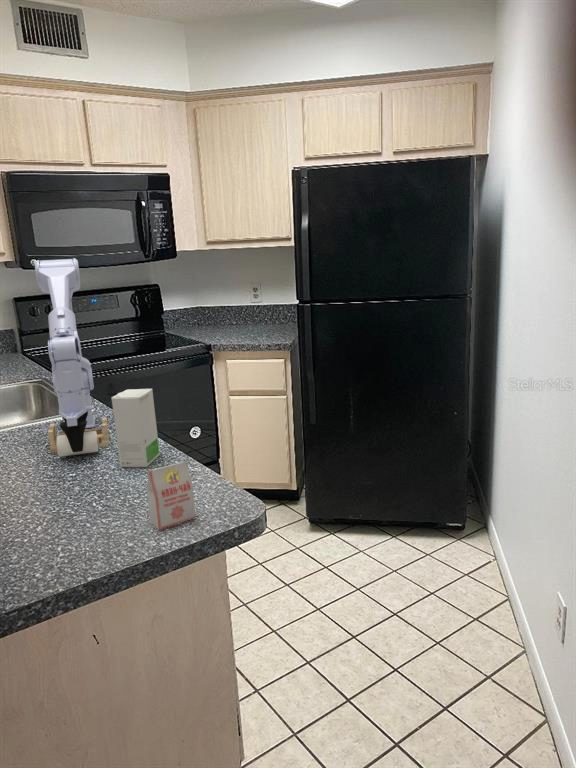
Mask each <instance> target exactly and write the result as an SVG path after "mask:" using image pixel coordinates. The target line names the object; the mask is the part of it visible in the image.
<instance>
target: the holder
mask: <svg viewBox="0 0 576 768" xmlns="http://www.w3.org/2000/svg"><path fill="white" fill-rule="evenodd" d="M107 419H108V418H107V416H105V417H101V427H100V428H92V429H91V428H90V429H85V430H84V432H90V431H96V433H97V437H98V439H99V445H98V448H102V447H109V446H110V435H109V429H108V427H109V426H108V420H107ZM47 433H48V434H47V435H48V440H49V448H50V449H49V450H50V454H56V453H57V454H58V450H57V447H56V442H57V436H58V435H65V433H64V432H61V433H60V432H59V433H58V434H57V429H56V423H55V422H54V423H50V425H49V429H48V431H47Z"/></svg>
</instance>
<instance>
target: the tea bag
mask: <svg viewBox="0 0 576 768" xmlns="http://www.w3.org/2000/svg"><path fill="white" fill-rule="evenodd" d="M147 474H148V475H147V484H146V485H147V487H146V493H147V503H148V513H149V514H148V515H149V522H150V524H151V525H153V526H154V528H155V529H157V530H158V531H161V530H164V528H165V529H167V527H168V528H170V526H171V527H174V526H176V524H177V525H179V524H178V523H180V524H182V523H181V522H183V523H186V522H188V521H187V520H190V521H192V520H191V519H193V520H195V519H194V518H196V506H195V496H194V487H193V483H192V479H191V475H190V472H189V467H188V461H180V462H177V463H173V464H170V465H166V466H161V467H159V468H158V467H157V468H154V469H149V470H148V471H147ZM196 519H197V518H196ZM185 521H186V522H185ZM173 525H174V526H173Z"/></svg>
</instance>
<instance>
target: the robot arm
mask: <svg viewBox="0 0 576 768" xmlns="http://www.w3.org/2000/svg"><path fill="white" fill-rule="evenodd" d="M79 267H80V266H79V260H78V259H76V258H75V257H73V258H67V259H66V258H65V259H64V258H63V259H47V260H46V259H44V260H43V259H42V260H40V259H38V260H36V261H35V262H34V269H35V276H36V277H35V278H36V282H37V285H38V288H39V289H40V290H41V293H44V294H48V295H50V300H51V304H52V311H50V312H49V314H48V317H47V318H48V329H49V331H48V332H49V339H48V340H47V350H48V357H49V361H50V363H51V376H52V385H53V386H52V387H53V390H54V393H55V394H56V396H57V402H58V403H57V404H58V414H59V416H61V418H62V420H63V421H62V422H60V423H59V427H60V429H61V430H62V432H63V433H65V435H66V436H67V438H68V441H69V444H70V447H71V449H72V451H73V452H80V451H83V438H84V430H86V429H91V428H92V429H93V428H95V427H96V416H94V415H93V406H92V401H91V394H90V393H91V391H92V390H94V388H95V385H94V378H93V377H94V375H93V369H92V366H91V362H90V360H89V359H87V358H86V357H83V354H82V347H81V346H82V345H81V341H80V340H81V339H80V338H79V335H78V334H79V333H78V331H77V323H76V314H75V313H74V310H73V309H74V308H73V303H72V298H73V294H74V293H75V292H77V291H79V290H80V289H81V277H80V276H81V275H80V268H79Z"/></svg>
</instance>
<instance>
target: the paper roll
mask: <svg viewBox="0 0 576 768" xmlns="http://www.w3.org/2000/svg"><path fill="white" fill-rule="evenodd" d="M98 445H99V439H98V437H97V433H96V431H90V432H84V438H83V451H80V452H73V451H72V449H71V447H70V444H69V441H68V438H67V436H66V435H59V434H57V442H56V447H57V450H58V453H57V454H58V457H61V458H62V457H68V456H76V455H83V454H90V453H97V452H99V447H98Z"/></svg>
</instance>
